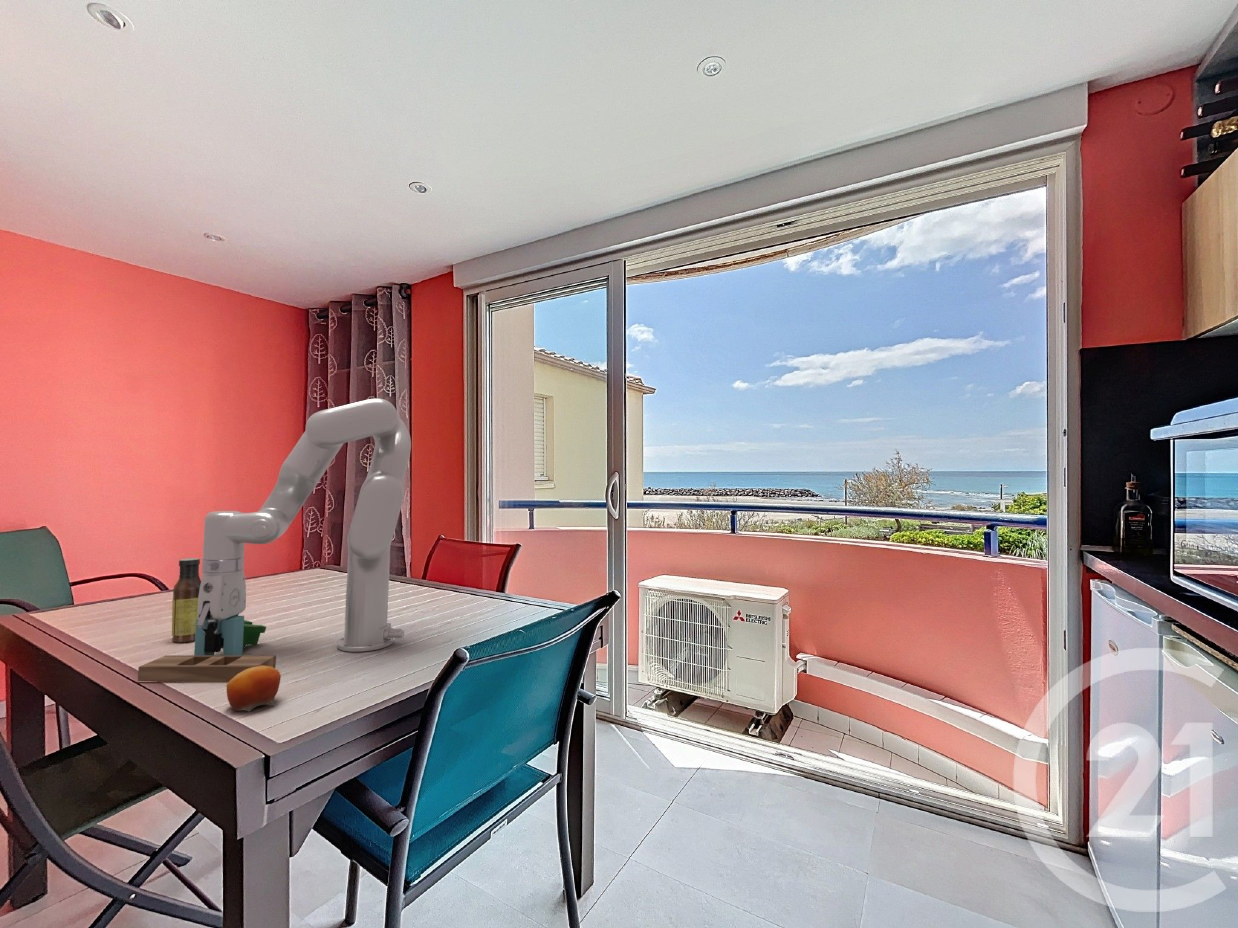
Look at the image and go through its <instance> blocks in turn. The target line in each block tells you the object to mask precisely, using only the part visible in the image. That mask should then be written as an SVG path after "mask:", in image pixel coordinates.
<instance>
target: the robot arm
mask: <svg viewBox="0 0 1238 928" xmlns="http://www.w3.org/2000/svg"><path fill="white" fill-rule="evenodd" d="M300 436H301V437H300V438H299V439H298V441H297V443H296V444H295V446H293V448H292V450H291V451H290V453H289V454H288V456H287V457H286V458H285V460H284V461H283V463H282V465H281V467H280V469H279V473H278V477H277V481H276V483H275V486H274V487H273V489H272V490H271V493H270V494H269V495H268V497H267V499H266V500H265V501H264V503H263V504H262V506H261V507H260V508H259V510H258V511H254V512H242V511H239V510H238V511H237V510H219V511H218V510H215V511H211V512H207V514H206V515H205V517H204V523H203V524H204V526H203V528H204V530H203V546H202V563H201V564H202V565H201V579H200V580H201V584H200V590H199V597H198V609H197V614H198V619H199V620H198V622H197V626H198V627H200V628H202V630H203V634H205V643H204V652H215V653H219V652H221V651H222V646H224V638H222V633H220V627H221V620H225V619H227V618H230V617H233V616H240V614H242V613H243V612H244V611H245V610H246V607H247V588H246V587H247V586H246V585H247V583H246V574H245V570H244V565H245V563H244V561H245V544H252V545H253V544H254V545H255V544H256V545H266V544H270V543H272V542H274V541H276V540H278V538H280V537H282V536H283V535H284V534H285V533H286V531H287V530H288V529H289V527H290V526H291V524H292V523H293V521H294V519H295V518H296V516H297V515H298V513H299V512H300V510H301V508H302V507H303V505H304V504H305V502H306V501H307V499H308V497H309V496H310V495H311V494H312V492H314V490H315V488H316V487H317V485H318V484H319V482H320V480H321V479H322V477H323V475H324V474H325V473H326V471H327V469H328V468H329V466H330V465H331V464H332V462H333V460H334V459H335V457H336V456H337V454H338V453H339V451H340V450H341V449H342V447H343V445H344V444H346V443H349V442H354V441H358V440H362V439H366V438H369V437H373V439H374V449H373V453H372V456H371V461H370V465H369V469H368V472H367V475H366V478H365V480H364V482H363V483H362V485H361V488H360V491H359V494H358V498H357V501H356V505H355V510H354V511H353V516H352V519H351V523H350V527H349V530H348V533H347V540H346V541H347V548H348V549H347V568H346V569H347V573H346V586H345V587H346V592H345V609H344V611H345V616H344V636H343V638H340V639H339V640H338V641H336V648H337V649H338V650H340V651H343V652H352V653H353V652H354V653H356V652H359V653H360V652H370V651H376V650H380V649H381V650H382V649H383V648H386V647H389V646H391V645H392V644H393V643H394V639H403V638H404V637H405V630H404V629H403V628H393V627H392V622H388V613H389V612H388V610H389V608H388V607H389V591H390V590H389V588H390V587H389V586H390V568H391V567H390V565H391V563H390V561H391V544H392V541H393V539H394V534H395V531H396V528H397V525H398V520H399V516H400V513H401V509H402V506H403V502H404V495H405V491H404V481H405V478H406V473H407V469H408V464H409V460H410V457H411V450H412V440H411V439H412V438H411V434H410V431H409V430H408V428H407V426H406V424H405V422H404V421H403V419H401V417H400V416H399V415H398V411H397V409H396V407H395V406H394V405H393V404H392V403H391V402H390V401H388V400H386V399H384V398H378V397H377V398H369V399H364V400H360V401H355V402H353V403H347V404H344V405H340V406H335V407H332V408H331V407H330V408H327V409H322V410H319V411H317V412H315V413H313V414H312V415H310V417H308V419H307V421H306V424H305V431H304V432H303V433H302V435H300ZM211 617H213V618H214V619H210V618H211ZM211 622H215V626H214V625H213V624H210V623H211Z"/></svg>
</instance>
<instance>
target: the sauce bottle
mask: <svg viewBox="0 0 1238 928" xmlns="http://www.w3.org/2000/svg"><path fill="white" fill-rule="evenodd" d="M200 560H201V559H200V558H197V557H195V558H193V557H191V558H182V559H179V560H178V567H179V575H178V576H179V578H178V580H177V581H176V583H175V585H174V586H173V588H172V589H173V590H172V592H173V593H172V602H171V603H172V605H171V606H172V607H171V609H172V611H171V612H172V613H171V615H172V616H171V636H172V637H171V640H172V642H174V643H176V644H177V643H180V644H181V643H190V642H195V631H196V619H198V614H197V609H198V597H199V590H200V584H201V580H202V579H201V578H200V573H199V572H200V571H199V570H200V564H201V561H200Z"/></svg>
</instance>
